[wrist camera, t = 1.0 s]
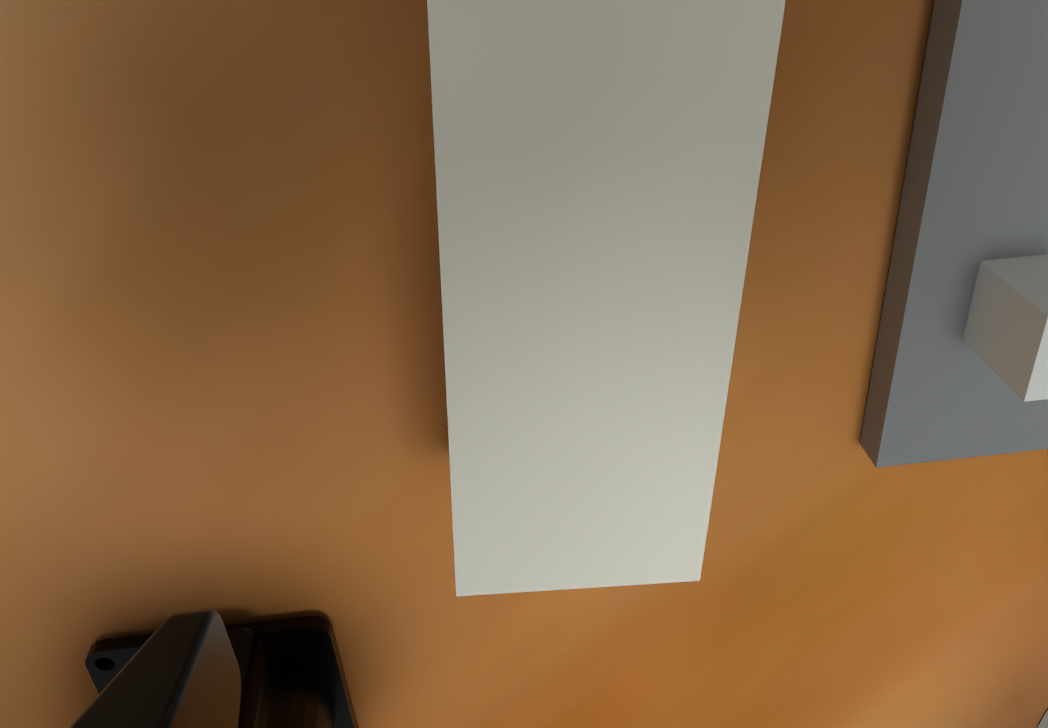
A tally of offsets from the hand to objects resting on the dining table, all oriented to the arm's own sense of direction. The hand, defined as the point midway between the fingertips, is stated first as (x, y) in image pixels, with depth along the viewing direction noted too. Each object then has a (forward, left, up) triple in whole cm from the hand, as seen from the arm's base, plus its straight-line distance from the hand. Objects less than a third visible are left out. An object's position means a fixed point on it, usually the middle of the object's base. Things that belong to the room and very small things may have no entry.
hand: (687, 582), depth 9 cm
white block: (0, 0, -12) cm, 12 cm away
